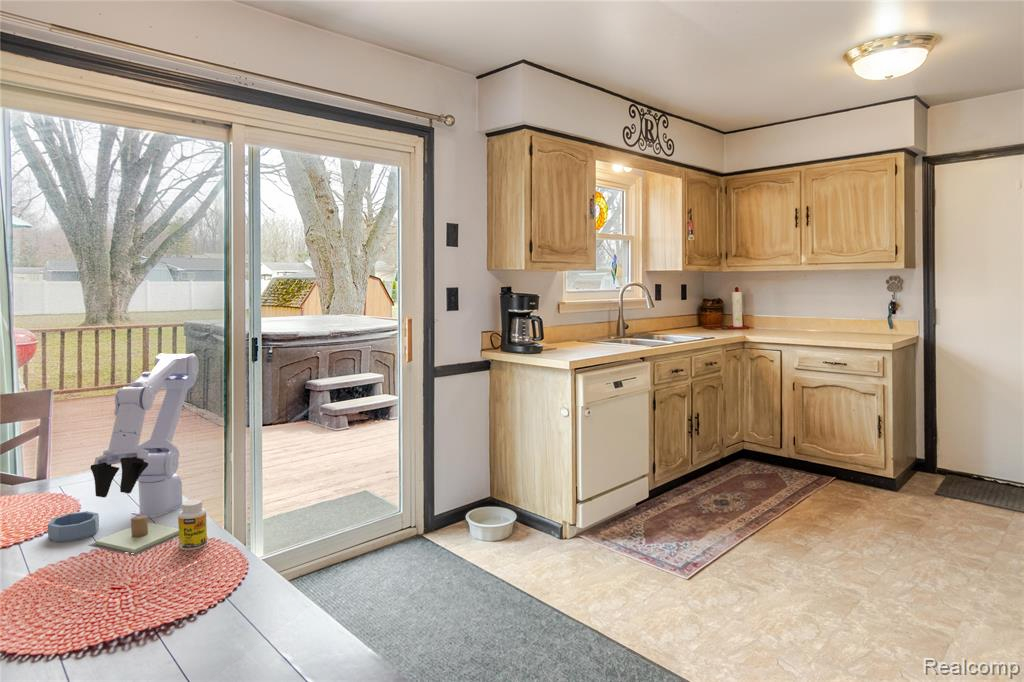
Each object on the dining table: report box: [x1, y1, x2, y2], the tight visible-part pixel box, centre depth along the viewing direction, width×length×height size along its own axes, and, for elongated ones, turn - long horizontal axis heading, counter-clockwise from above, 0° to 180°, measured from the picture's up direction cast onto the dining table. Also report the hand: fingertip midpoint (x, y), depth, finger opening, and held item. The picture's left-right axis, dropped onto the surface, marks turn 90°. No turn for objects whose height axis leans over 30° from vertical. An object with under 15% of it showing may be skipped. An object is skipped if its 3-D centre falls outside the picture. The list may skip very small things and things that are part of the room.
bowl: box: [47, 510, 100, 543], centre depth 142 cm, size 9×9×4 cm
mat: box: [88, 534, 179, 557], centre depth 141 cm, size 14×14×1 cm
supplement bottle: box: [177, 498, 208, 551], centre depth 137 cm, size 6×6×10 cm
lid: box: [95, 515, 179, 553], centre depth 140 cm, size 12×12×5 cm
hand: (113, 494), depth 137 cm, fingers open, 7 cm apart
